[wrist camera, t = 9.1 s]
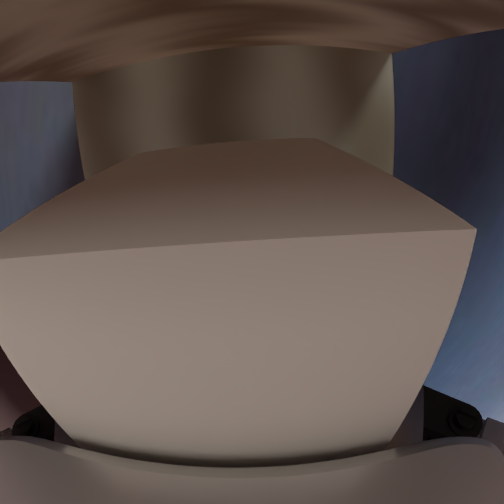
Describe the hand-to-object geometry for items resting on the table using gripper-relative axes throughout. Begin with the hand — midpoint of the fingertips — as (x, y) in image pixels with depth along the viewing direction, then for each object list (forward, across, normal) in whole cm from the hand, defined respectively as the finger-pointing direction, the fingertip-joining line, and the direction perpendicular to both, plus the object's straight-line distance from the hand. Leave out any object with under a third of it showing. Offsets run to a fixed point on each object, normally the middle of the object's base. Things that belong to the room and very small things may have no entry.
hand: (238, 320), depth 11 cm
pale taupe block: (+2, 0, 0) cm, 2 cm away
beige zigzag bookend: (+10, 0, -3) cm, 10 cm away
